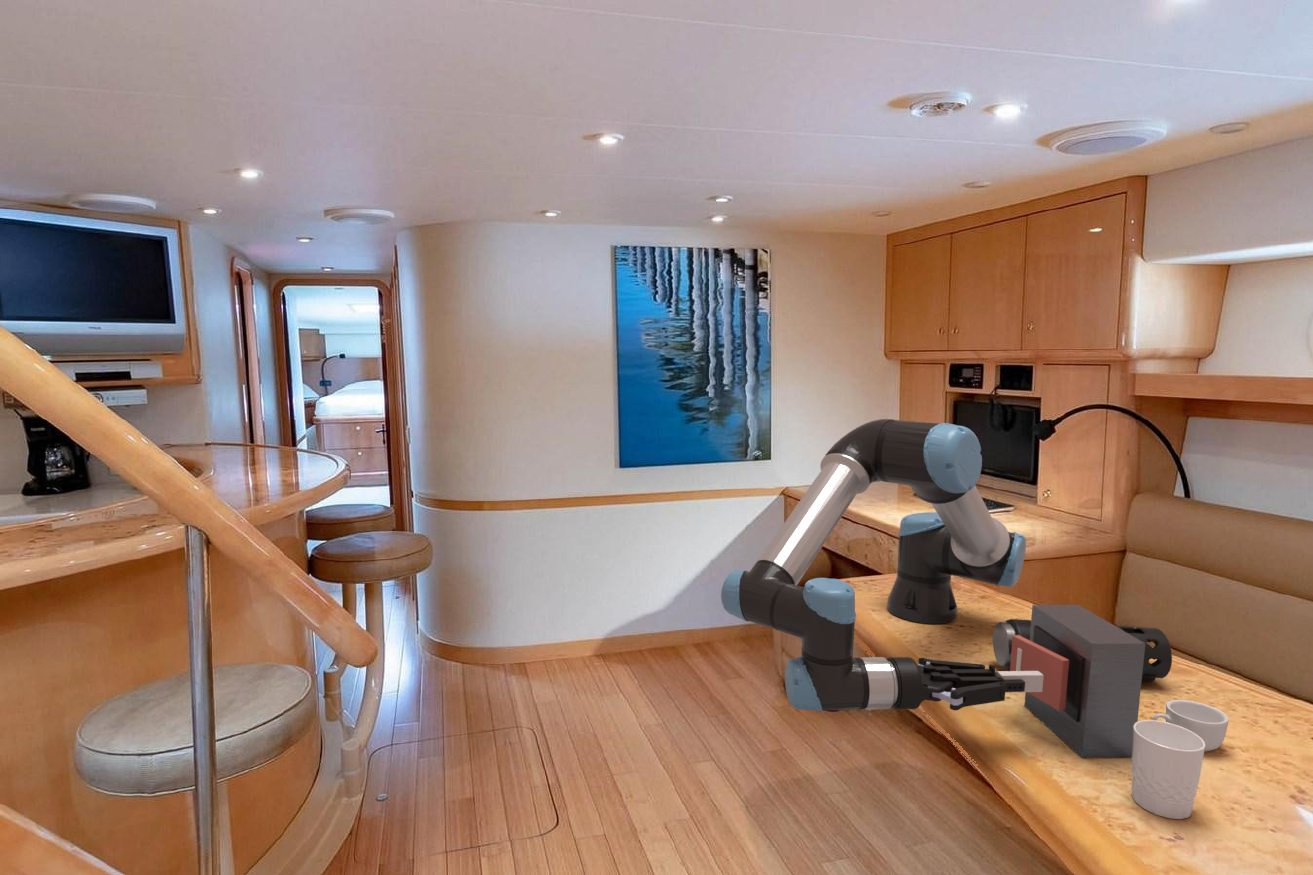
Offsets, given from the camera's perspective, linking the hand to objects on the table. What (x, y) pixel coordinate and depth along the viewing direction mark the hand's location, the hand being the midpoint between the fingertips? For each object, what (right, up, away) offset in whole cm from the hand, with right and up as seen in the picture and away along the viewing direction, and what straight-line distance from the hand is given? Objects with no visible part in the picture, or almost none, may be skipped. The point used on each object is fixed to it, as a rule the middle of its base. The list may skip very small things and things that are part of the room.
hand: (1039, 681), depth 112 cm
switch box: (+9, -10, +6) cm, 14 cm away
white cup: (+10, -12, -13) cm, 20 cm away
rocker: (+2, -4, +5) cm, 6 cm away
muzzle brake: (+20, -8, +25) cm, 33 cm away
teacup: (+24, -11, +2) cm, 26 cm away
